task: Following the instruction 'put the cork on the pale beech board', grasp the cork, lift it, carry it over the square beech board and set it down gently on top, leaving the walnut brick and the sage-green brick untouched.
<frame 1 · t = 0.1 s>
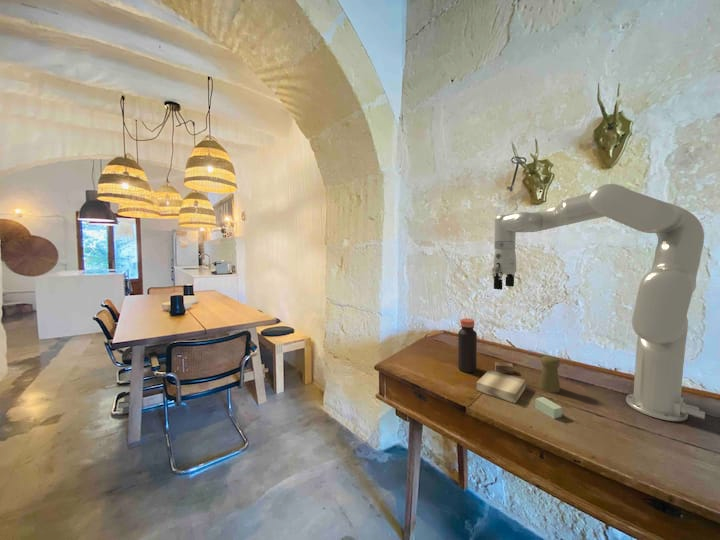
hand: (503, 287, 117), 31 cm above the table, tool pointing down, fingers open, 9 cm apart
bottle: (467, 369, 113), on the table
walnut brick: (503, 371, 111), on the table
cork: (549, 388, 97), on the table
beech board: (500, 389, 97), on the table
sage brick: (547, 412, 84), on the table
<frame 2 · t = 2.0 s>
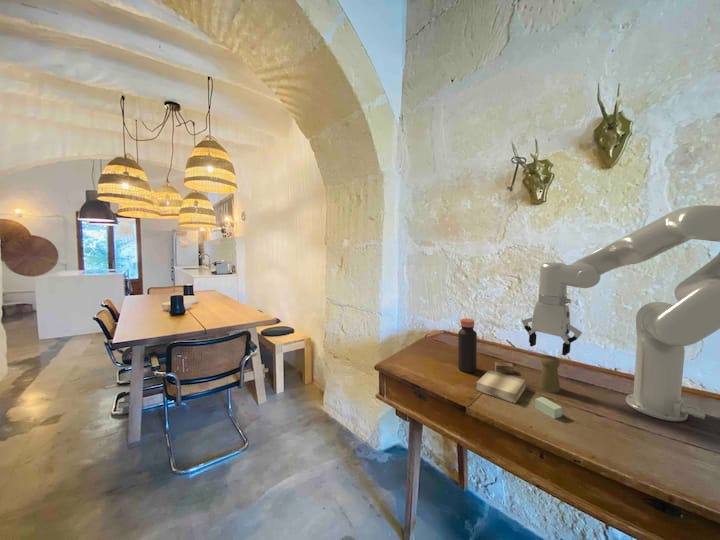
hand: (548, 349, 96), 13 cm above the table, tool pointing down, fingers open, 9 cm apart
nothing on the table moved.
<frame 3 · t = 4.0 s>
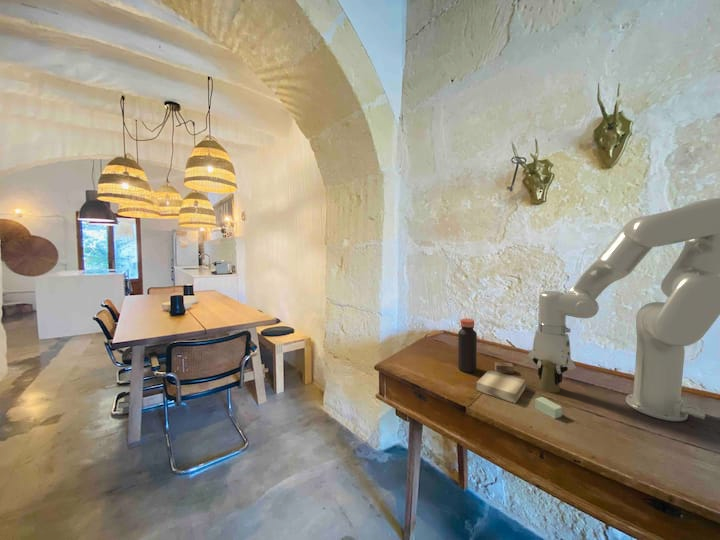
hand: (549, 380, 97), 3 cm above the table, tool pointing down, fingers closed on cork, 4 cm apart
cork: (549, 388, 97), on the table, touching gripper
everything else where it was.
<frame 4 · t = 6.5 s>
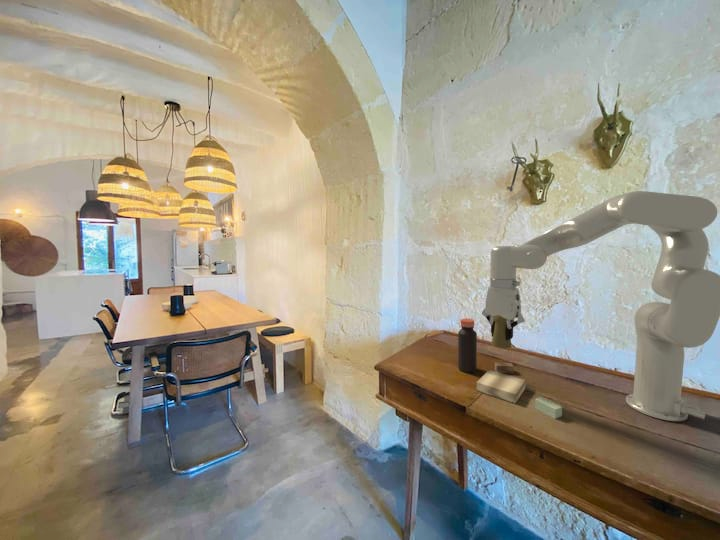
hand: (501, 337, 96), 18 cm above the table, tool pointing down, fingers closed on cork, 4 cm apart
cork: (501, 345, 96), point 15 cm above the table, touching gripper
everything else where it was.
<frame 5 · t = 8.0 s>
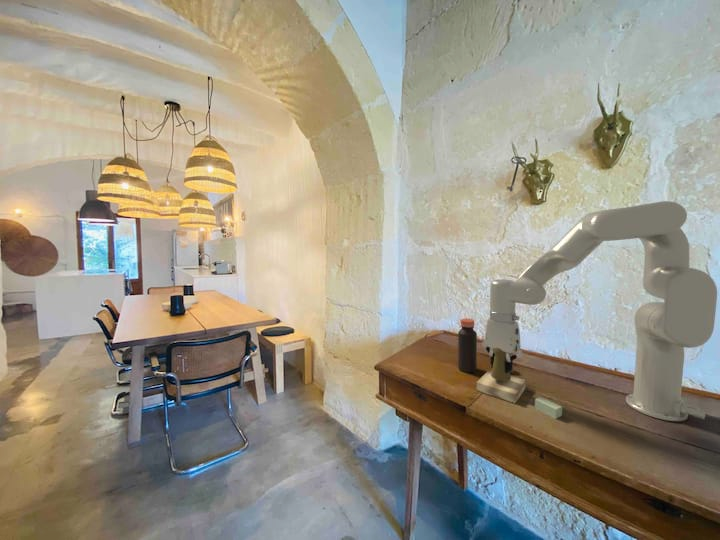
hand: (501, 368, 97), 7 cm above the table, tool pointing down, fingers closed on cork, 4 cm apart
cork: (500, 377, 97), point 4 cm above the table, touching gripper
everything else where it was.
when the fingers open (6 cm above the table, at t = 9.2 s): cork stays where it is, resting on beech board.
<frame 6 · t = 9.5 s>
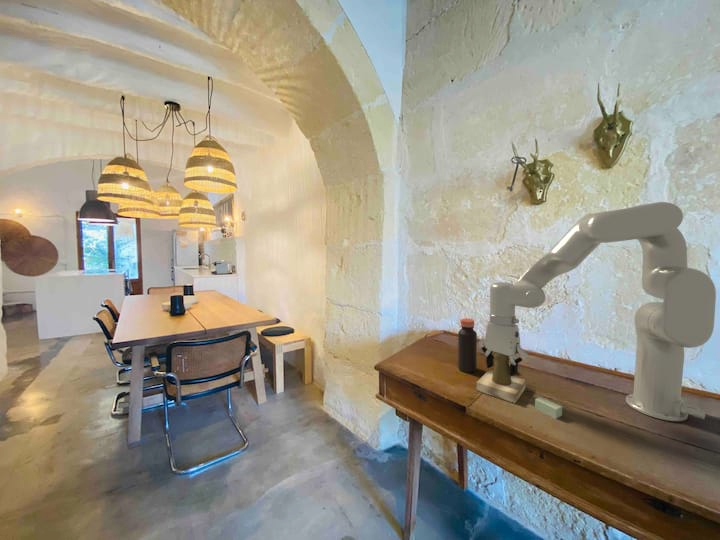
hand: (501, 370, 97), 7 cm above the table, tool pointing down, fingers open, 7 cm apart
cork: (501, 381, 97), point 3 cm above the table, touching beech board
everything else where it was.
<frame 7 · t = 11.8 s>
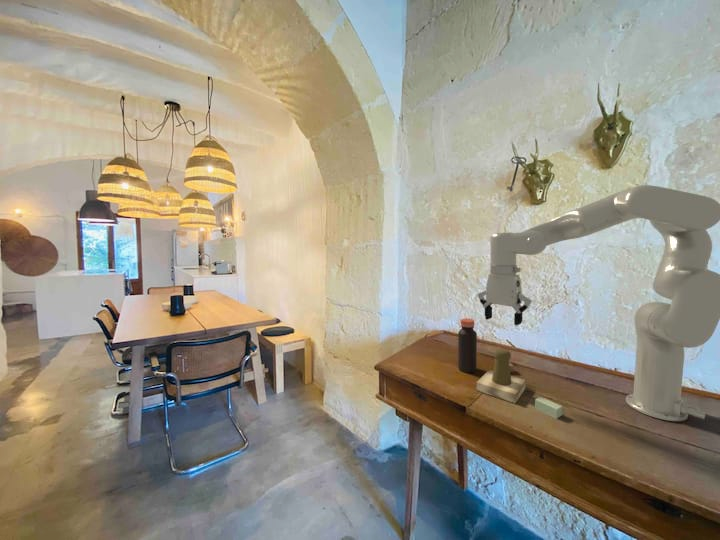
hand: (502, 321, 95), 24 cm above the table, tool pointing down, fingers open, 9 cm apart
nothing on the table moved.
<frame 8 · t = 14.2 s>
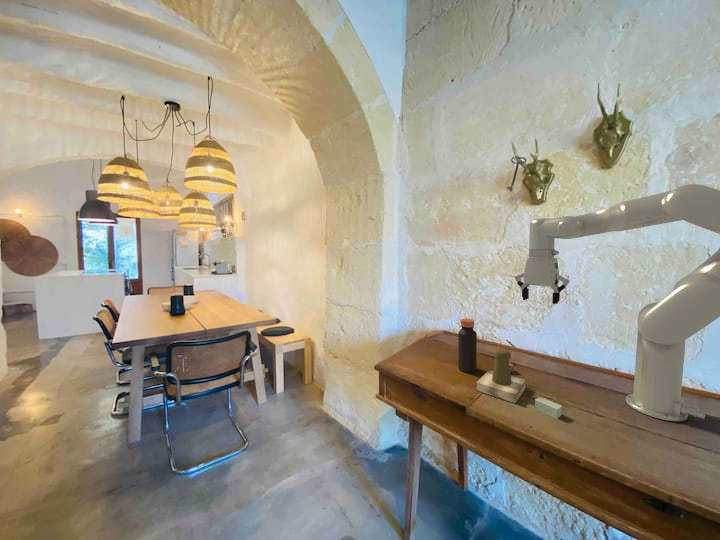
hand: (539, 301, 103), 28 cm above the table, tool pointing down, fingers open, 9 cm apart
nothing on the table moved.
at the end: cork inside the target area on the beech board (0.1 cm from its centre), point 2.8 cm above the beech board's base; cork tilted 0°; walnut brick moved 0.2 cm from its start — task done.
